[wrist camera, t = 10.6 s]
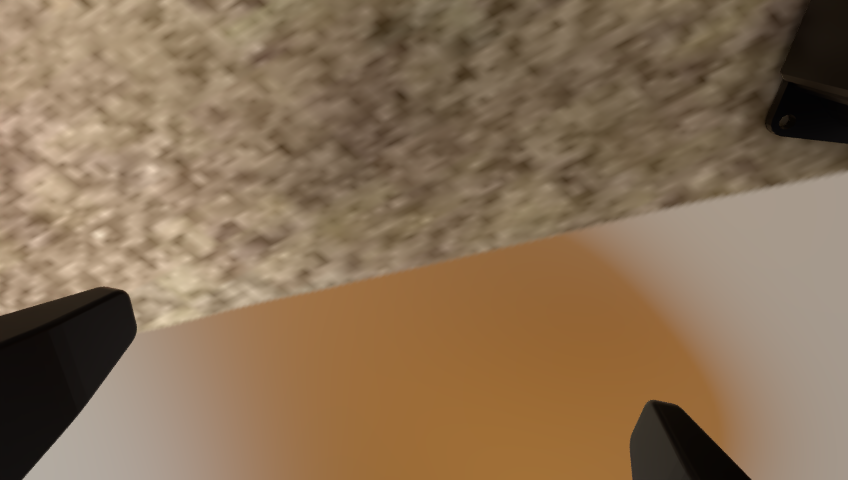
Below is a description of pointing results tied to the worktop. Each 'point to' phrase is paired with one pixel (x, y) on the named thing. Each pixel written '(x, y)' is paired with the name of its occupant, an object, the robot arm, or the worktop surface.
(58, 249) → the worktop surface
